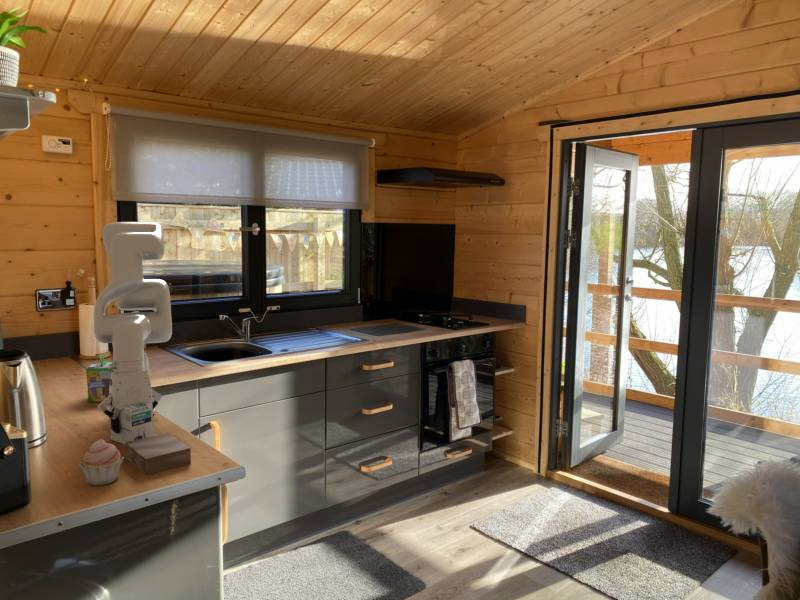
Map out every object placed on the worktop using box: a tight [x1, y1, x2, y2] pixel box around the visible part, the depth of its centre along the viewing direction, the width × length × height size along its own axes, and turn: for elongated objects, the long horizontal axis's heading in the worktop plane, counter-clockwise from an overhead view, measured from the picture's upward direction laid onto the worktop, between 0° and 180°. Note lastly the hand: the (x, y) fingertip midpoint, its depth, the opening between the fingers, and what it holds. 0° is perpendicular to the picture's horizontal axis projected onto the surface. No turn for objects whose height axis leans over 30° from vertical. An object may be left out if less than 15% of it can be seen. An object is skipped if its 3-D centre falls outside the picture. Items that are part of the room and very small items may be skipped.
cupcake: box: [78, 438, 125, 487], centre depth 146 cm, size 9×9×10 cm
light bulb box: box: [108, 403, 155, 446], centre depth 171 cm, size 11×7×11 cm, turn 56°
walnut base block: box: [124, 432, 192, 476], centre depth 158 cm, size 14×11×4 cm
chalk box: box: [85, 353, 114, 404], centre depth 208 cm, size 9×9×15 cm
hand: (132, 428), depth 171 cm, fingers closed on light bulb box, 7 cm apart
